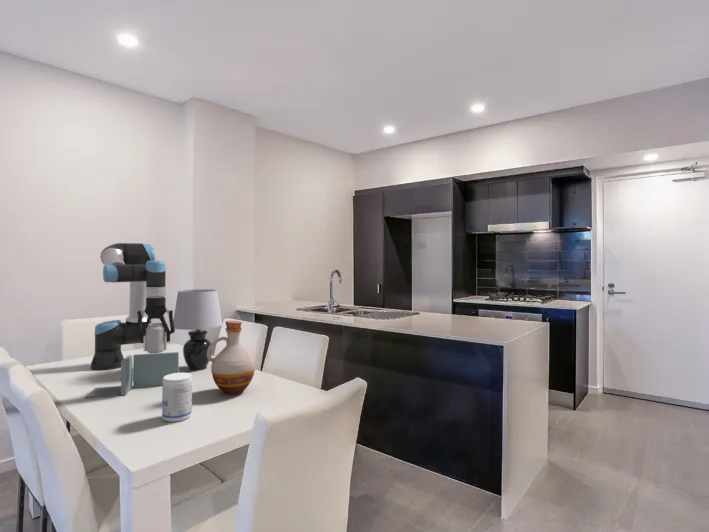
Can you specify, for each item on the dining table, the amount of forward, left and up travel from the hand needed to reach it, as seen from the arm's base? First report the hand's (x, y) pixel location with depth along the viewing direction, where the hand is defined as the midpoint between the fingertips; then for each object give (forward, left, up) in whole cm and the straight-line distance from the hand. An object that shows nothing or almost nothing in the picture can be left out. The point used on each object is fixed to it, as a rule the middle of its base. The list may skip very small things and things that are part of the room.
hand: (155, 350), depth 172 cm
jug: (+12, +31, -17) cm, 38 cm away
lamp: (-32, +14, -17) cm, 39 cm away
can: (0, 0, -1) cm, 1 cm away
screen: (-1, -2, -17) cm, 17 cm away
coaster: (-2, -19, -17) cm, 25 cm away
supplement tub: (+35, +13, -17) cm, 41 cm away
